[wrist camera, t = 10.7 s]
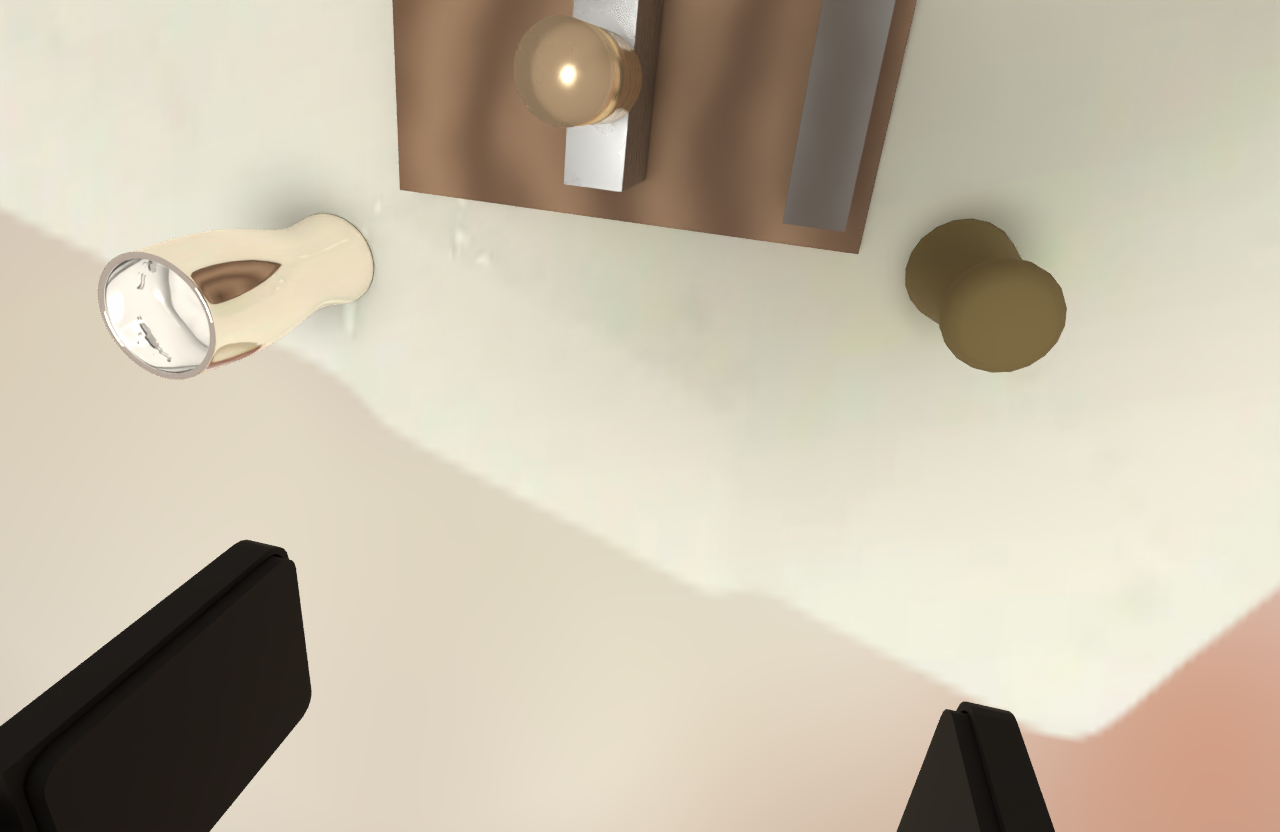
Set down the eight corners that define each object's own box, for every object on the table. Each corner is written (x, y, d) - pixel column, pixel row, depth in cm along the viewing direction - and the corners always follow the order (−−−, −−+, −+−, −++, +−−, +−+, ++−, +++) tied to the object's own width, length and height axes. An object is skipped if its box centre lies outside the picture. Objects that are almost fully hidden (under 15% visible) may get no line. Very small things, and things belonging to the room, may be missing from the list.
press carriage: (675, -22, 36) (622, -75, 26) (654, 181, 41) (600, 209, 30) (599, -29, 37) (517, -83, 26) (586, 172, 41) (510, 196, 30)
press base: (925, -54, 35) (954, -91, 29) (856, 249, 42) (866, 277, 35) (402, -95, 39) (320, -136, 33) (411, 187, 46) (344, 201, 39)
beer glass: (285, 291, 51) (98, 359, 37) (289, 193, 48) (87, 229, 34) (375, 321, 50) (218, 401, 37) (385, 224, 47) (217, 272, 34)
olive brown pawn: (915, 215, 40) (952, 252, 30) (1030, 222, 39) (1106, 262, 29) (896, 318, 43) (924, 384, 33) (1004, 327, 42) (1066, 398, 32)
